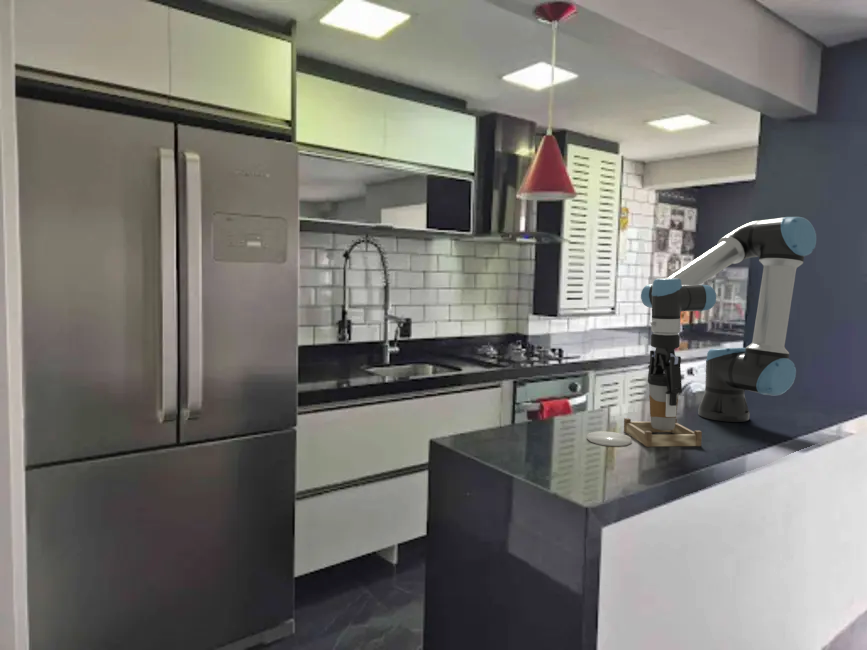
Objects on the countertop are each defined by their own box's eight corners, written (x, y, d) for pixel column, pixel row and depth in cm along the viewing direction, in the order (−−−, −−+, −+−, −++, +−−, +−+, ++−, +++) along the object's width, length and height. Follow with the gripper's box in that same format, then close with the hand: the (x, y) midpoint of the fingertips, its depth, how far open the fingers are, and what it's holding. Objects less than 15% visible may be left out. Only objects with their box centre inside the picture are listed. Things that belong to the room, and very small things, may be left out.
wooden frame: (673, 431, 170) (674, 417, 170) (701, 446, 155) (701, 431, 155) (623, 431, 169) (624, 418, 169) (646, 446, 154) (646, 432, 154)
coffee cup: (681, 432, 157) (683, 378, 156) (649, 430, 159) (651, 377, 158) (675, 424, 165) (676, 373, 164) (645, 423, 167) (646, 372, 166)
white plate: (621, 433, 167) (621, 431, 166) (638, 446, 155) (638, 443, 155) (581, 434, 166) (581, 431, 166) (595, 446, 154) (595, 443, 154)
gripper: (636, 329, 170) (634, 404, 172) (670, 337, 149) (668, 422, 151) (661, 329, 170) (659, 403, 172) (698, 337, 149) (695, 421, 151)
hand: (663, 412), depth 162 cm, fingers closed on coffee cup, 8 cm apart
